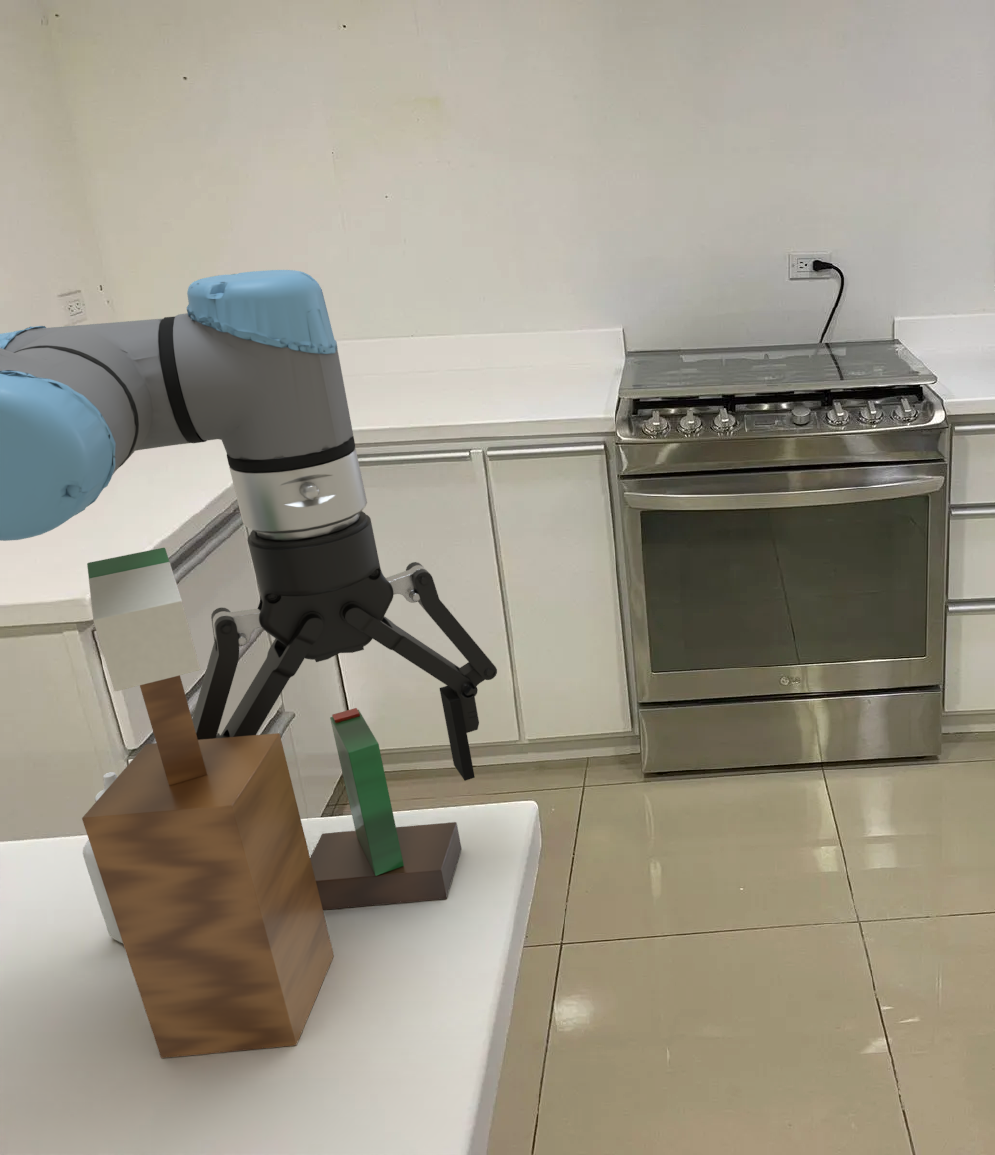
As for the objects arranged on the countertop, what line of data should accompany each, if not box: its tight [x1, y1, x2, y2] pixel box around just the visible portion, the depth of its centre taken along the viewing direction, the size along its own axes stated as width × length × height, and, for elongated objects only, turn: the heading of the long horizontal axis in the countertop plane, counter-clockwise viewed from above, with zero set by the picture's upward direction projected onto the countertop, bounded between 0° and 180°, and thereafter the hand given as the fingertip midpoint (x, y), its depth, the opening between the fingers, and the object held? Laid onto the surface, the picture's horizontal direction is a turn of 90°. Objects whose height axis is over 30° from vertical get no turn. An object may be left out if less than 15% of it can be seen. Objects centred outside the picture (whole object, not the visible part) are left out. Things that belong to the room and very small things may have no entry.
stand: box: [81, 675, 335, 1059], centre depth 67 cm, size 8×8×25 cm
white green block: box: [86, 547, 201, 692], centre depth 61 cm, size 10×4×4 cm, turn 31°
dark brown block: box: [310, 821, 462, 911], centre depth 82 cm, size 10×6×2 cm, turn 94°
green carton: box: [329, 707, 404, 876], centre depth 80 cm, size 6×2×10 cm, turn 31°
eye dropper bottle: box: [82, 771, 123, 944], centre depth 77 cm, size 4×6×12 cm
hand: (370, 802), depth 80 cm, fingers open, 13 cm apart
